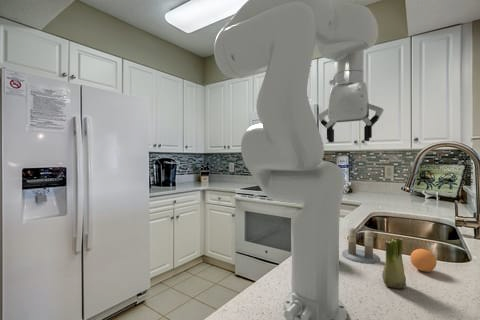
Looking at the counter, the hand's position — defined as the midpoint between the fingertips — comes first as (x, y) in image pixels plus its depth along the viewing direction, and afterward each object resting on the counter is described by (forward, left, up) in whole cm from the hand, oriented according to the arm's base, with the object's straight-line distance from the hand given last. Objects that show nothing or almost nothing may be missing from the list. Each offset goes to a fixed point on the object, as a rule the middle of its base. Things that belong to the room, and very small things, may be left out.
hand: (348, 141), depth 71 cm
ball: (+13, -17, -34) cm, 40 cm away
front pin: (+13, -3, -37) cm, 39 cm away
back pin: (+13, +2, -37) cm, 39 cm away
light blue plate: (+13, 0, -37) cm, 39 cm away
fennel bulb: (-2, -11, -37) cm, 39 cm away
